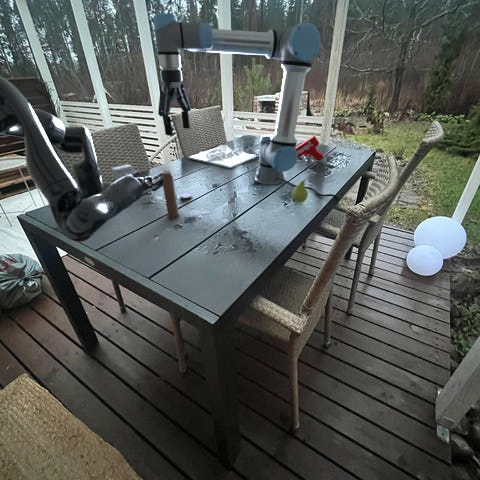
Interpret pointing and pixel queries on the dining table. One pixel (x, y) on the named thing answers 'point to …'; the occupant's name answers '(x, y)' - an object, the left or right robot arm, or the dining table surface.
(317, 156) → the toy gun
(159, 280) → the dining table surface
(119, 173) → the ink box
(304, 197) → the fruit
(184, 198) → the lid
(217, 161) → the relief map
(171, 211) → the jar
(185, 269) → the dining table surface
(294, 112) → the right robot arm
